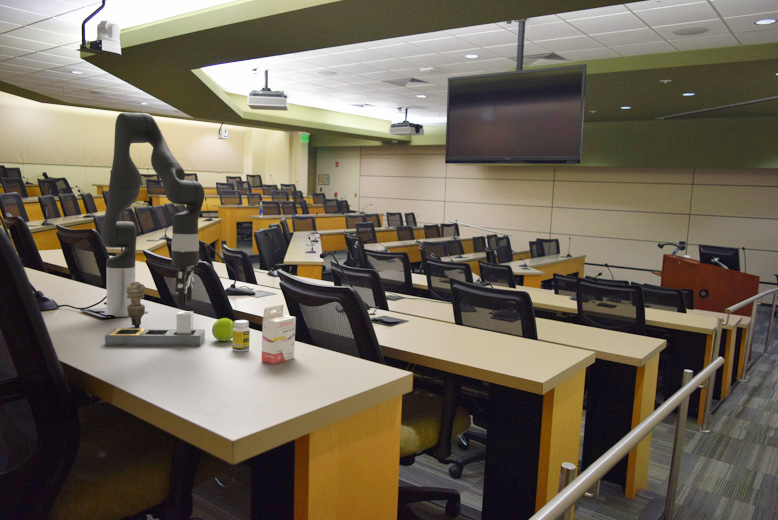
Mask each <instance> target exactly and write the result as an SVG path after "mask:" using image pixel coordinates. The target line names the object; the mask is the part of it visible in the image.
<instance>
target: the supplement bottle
mask: <svg viewBox="0 0 778 520" xmlns="http://www.w3.org/2000/svg"><path fill="white" fill-rule="evenodd" d="M233 322H234V326H235V327H234V328H233V338H232V351H233V352H236V353H237V352H239V353H241V352H242V353H243V352H247V351H250V334H251V333H250V331H251V330H250V327H249V326H250V323H249V320H246V319H237V320H234V321H233Z"/></svg>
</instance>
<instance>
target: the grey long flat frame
mask: <svg viewBox="0 0 778 520" xmlns="http://www.w3.org/2000/svg"><path fill="white" fill-rule="evenodd" d="M205 331H206V330H205V329H201V328H200V329H198V328H197V329H196V328H195V329H194V328H193V335H177V328H176V329H175V328H174V329H172V328H171V329H170V328H169V329H167V328H164V329H163V328H162V329H161V328H113V329H112V330H111V331H109V332H108V333H106V334H105V335H104V346H105V347H110V346H111V347H113V346H115V347H119V346H120V347H127V346H128V347H130V346H131V347H201V345H202V344H203V343H204V341H205V337H206V336H205V333H206V332H205Z"/></svg>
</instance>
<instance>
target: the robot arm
mask: <svg viewBox="0 0 778 520" xmlns="http://www.w3.org/2000/svg"><path fill="white" fill-rule="evenodd" d="M164 137H165V136H164V135H163V133H162V130H161V129H160V127H159V124H158V123H157V121H156V120H155V118H154V117H153V115H151V114H149V113H146V112H120V113H119V114H118V115H117V117H116V120H115V124H114V140H113V141H114V142H113V143H114V144H113V145H114V146H113V160H112V166H111V170H110V171H111V173H110V178H109V184H108V185H109V186H108V193H107V194H108V195H107V201H106V202H107V204H106V209H105V214H104V218H103V222H102V225H101V233H100V241H101V244H102V245H103V246H104V247H105V248H110V249H111V248H113V249H114V248H124V249H123V250H122V252H119V253H118V254H117V255H114V256H111V257H108V258H107V259H106V260H105V262H106V263H105V265H106V315H107V314H109V315H114V316H115V317H114V318H123V317H130V316H129V315H128V312H127V306H128V305H130V304H131V299H130V298H127V295H128V294H127V293H126V291H127V289H126V287H127V286H130V283H132V282H136V254H137V253H136V252H137V251H136V250H137V249H136V248H137V227H136V224H135V223H134V222H133V221H125V220H123V221H121V220H120V221H119V220H118V219H120V216H121V215H122V214H123V213H124V212H125V211H126V210H127V209H128V208H129V207H131V205H133V203H135V202H136V201H137V199H138V197H139V195H140V191H141V184H142V176H141V173H140V171H139V169H138V167H137V165H136V164H135V163H134V161H133V159H132V157H131V153H130V149H131V144H147V143H148V144H150V145H151V147H152V151H151V154H150V155H151V156H150V162H151V163H150V164H151V166H152V169H153V171H154V172H155V174H156V175H157V176H158V178H159V179H160V181H161V184H162V187H163V191H164V193H165V197H166V198H167V200H168V201H169V202H170V203H172V204H174V205H182V206H183V205H185V208H184V210H183V211H182V212H177V213H175V214H174V215H173V216H172V234H171V265H172V266H176V267H179V268H178V271H176V272H175V293H176V294H177V306H178V307H179V308H183V307H184V308H185V307H186V306H187V302H192V300H193V288H194V285H195V271H194V269H195V267H196V266H198V265H199V263H200V262H199V261H200V257H199V256H200V255H199V254H200V252H199V251H200V240H199V219H200V215H201V211H202V207H203V203H204V199H205V194H206V193H205V189H204V187H203V185H202V184H201V183H200V182H199V181H196V180H185V178H186V172H185V170H184V168H183V167H182V166H181V165H180V163H179V162H178V160H177V159H176V158H175V156H174V155H173V153H172V152H171V150H170V147H169V146H168V143H167V142H166V139H165V138H164Z"/></svg>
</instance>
